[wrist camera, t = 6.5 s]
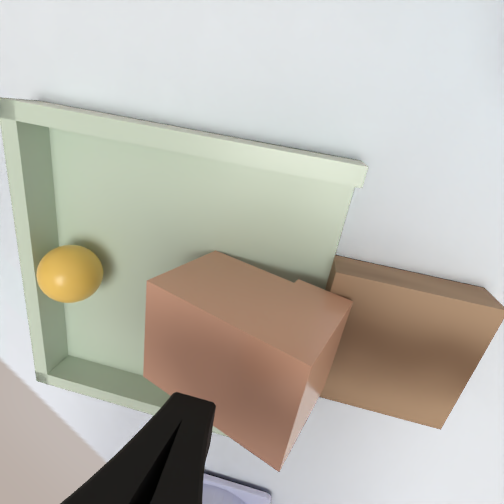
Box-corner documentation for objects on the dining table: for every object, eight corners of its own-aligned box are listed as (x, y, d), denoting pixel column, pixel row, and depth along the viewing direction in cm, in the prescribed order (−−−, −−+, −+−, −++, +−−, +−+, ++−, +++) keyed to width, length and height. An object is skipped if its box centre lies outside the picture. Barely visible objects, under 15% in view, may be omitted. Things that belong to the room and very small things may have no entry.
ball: (33, 293, 17) (92, 277, 19) (51, 322, 15) (114, 302, 17) (24, 242, 16) (87, 231, 18) (42, 267, 14) (111, 252, 16)
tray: (286, 419, 20) (282, 452, 18) (62, 357, 22) (36, 381, 20) (361, 160, 14) (368, 167, 12) (38, 100, 15) (-4, 97, 13)
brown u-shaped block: (279, 472, 12) (143, 376, 15) (324, 387, 16) (210, 326, 19) (311, 367, 10) (146, 280, 13) (353, 301, 14) (221, 247, 17)
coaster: (427, 397, 18) (440, 429, 16) (301, 365, 18) (300, 391, 17) (484, 288, 15) (508, 310, 13) (333, 254, 16) (336, 272, 14)
